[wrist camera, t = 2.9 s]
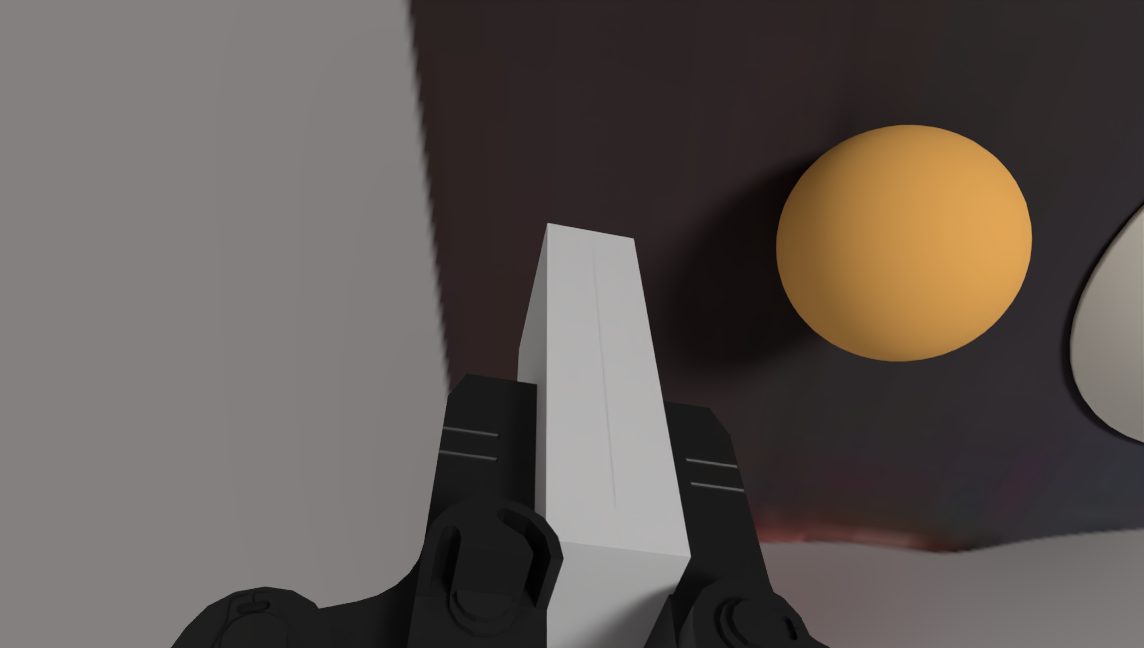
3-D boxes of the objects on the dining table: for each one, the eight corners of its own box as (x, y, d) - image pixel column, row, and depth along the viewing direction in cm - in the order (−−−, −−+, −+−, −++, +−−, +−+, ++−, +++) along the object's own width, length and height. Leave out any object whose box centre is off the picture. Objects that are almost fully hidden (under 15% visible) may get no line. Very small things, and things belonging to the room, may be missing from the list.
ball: (1008, 115, 19) (1144, 220, 15) (907, 295, 22) (993, 426, 18) (802, 69, 18) (878, 164, 14) (727, 261, 22) (770, 389, 17)
